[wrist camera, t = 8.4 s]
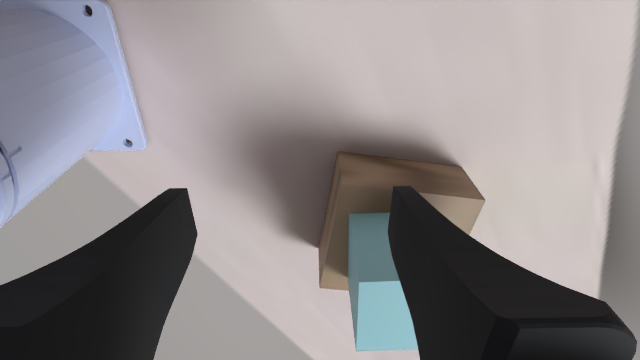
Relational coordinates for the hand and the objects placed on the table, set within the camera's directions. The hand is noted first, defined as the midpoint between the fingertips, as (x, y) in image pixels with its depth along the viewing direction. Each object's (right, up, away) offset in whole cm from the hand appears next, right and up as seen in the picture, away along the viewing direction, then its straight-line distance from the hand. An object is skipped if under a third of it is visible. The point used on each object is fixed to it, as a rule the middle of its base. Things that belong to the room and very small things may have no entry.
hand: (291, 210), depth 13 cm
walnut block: (+5, -1, +12) cm, 13 cm away
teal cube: (+5, -3, +9) cm, 10 cm away
